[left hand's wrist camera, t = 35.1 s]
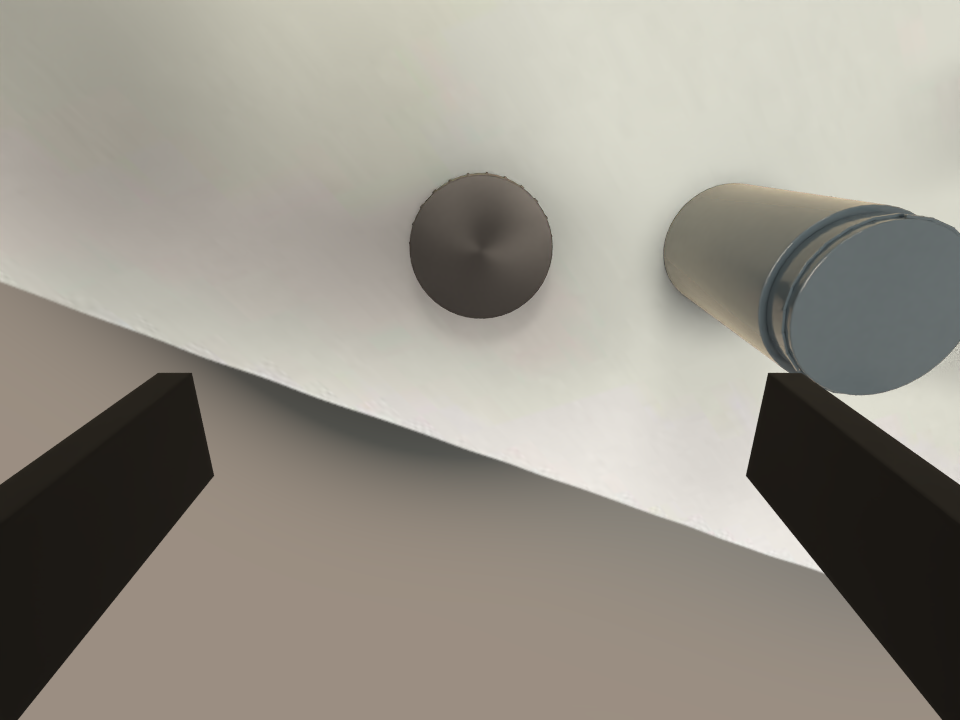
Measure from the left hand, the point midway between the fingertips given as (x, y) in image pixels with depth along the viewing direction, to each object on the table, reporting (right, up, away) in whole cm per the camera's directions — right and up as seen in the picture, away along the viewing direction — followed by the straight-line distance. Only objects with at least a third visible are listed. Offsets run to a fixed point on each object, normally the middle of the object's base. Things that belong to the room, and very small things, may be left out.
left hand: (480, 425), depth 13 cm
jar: (+17, +9, +24) cm, 31 cm away
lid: (0, +9, +22) cm, 24 cm away
